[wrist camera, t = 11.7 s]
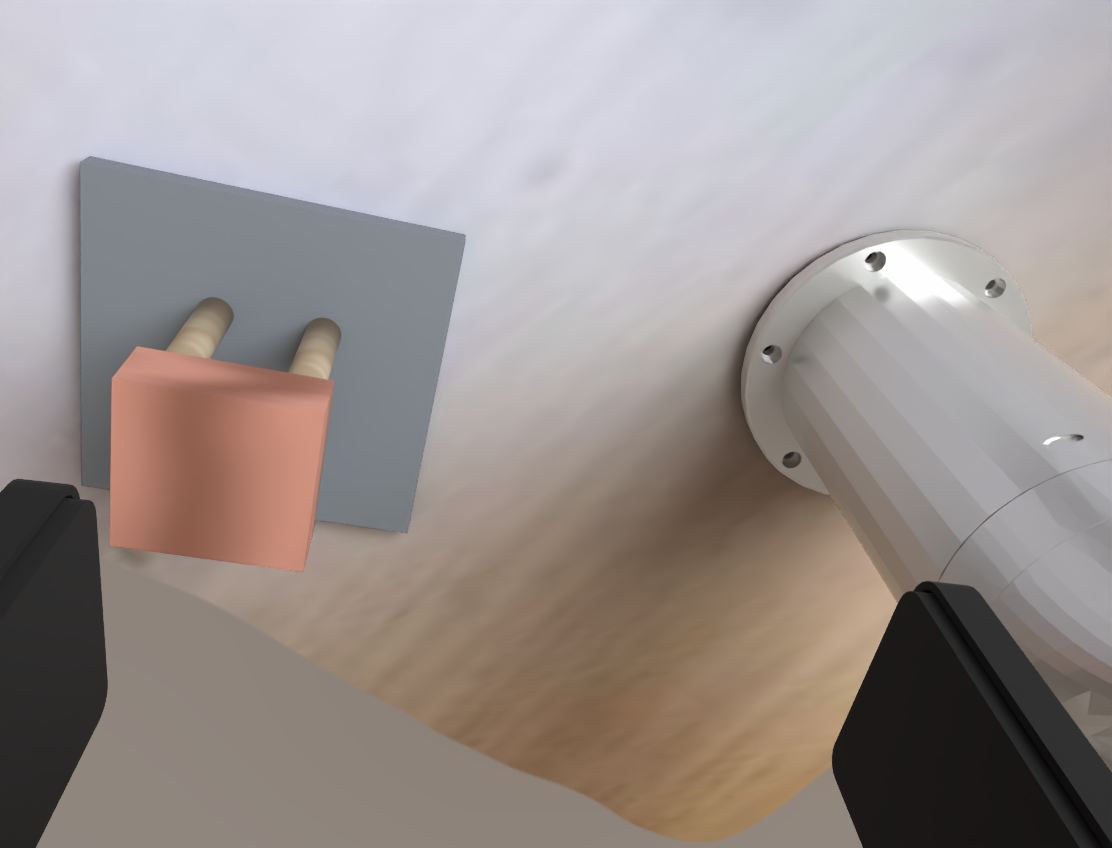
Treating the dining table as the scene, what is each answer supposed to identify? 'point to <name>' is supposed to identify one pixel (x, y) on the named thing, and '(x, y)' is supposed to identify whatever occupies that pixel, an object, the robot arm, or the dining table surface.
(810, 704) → the dining table surface
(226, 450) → the stool
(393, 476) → the slate mat
